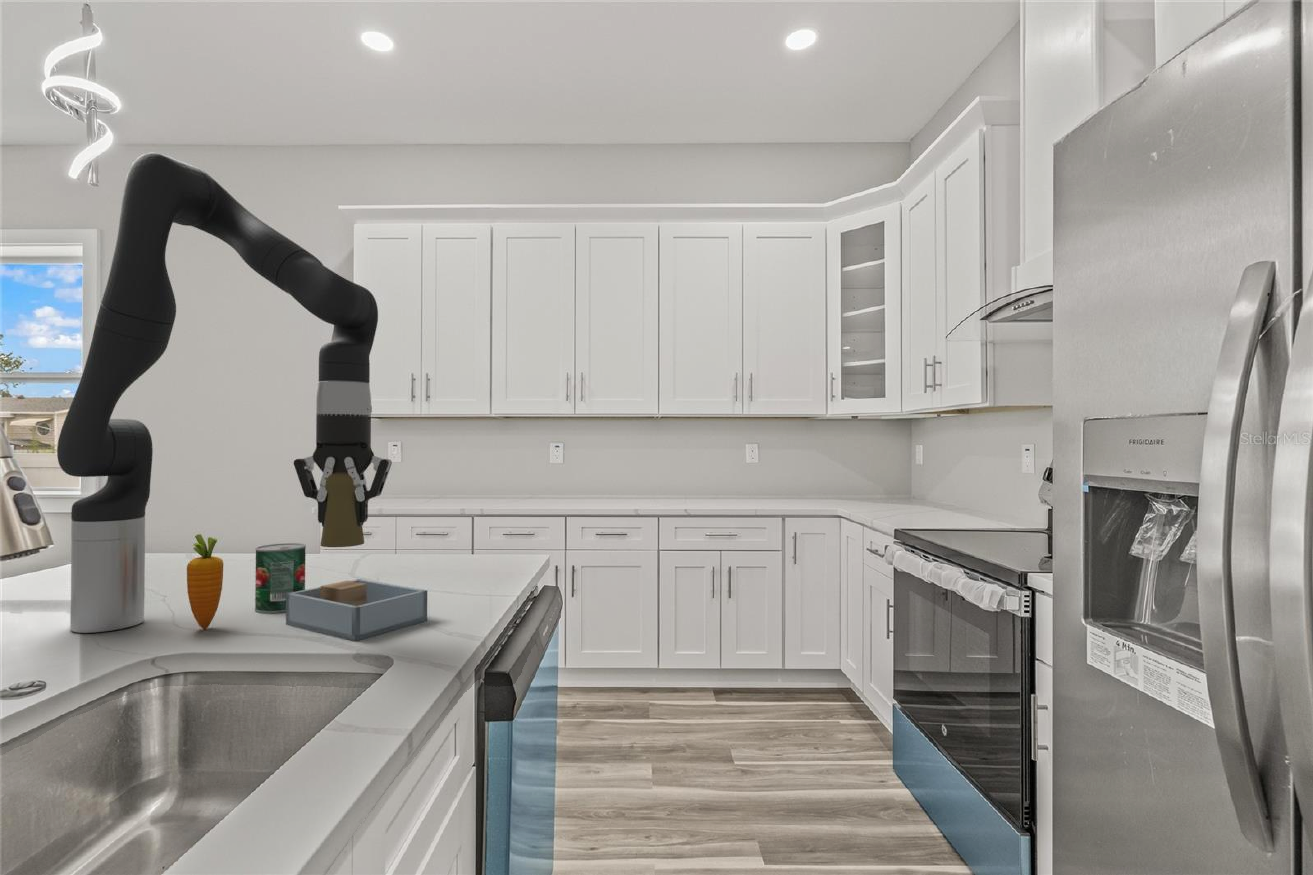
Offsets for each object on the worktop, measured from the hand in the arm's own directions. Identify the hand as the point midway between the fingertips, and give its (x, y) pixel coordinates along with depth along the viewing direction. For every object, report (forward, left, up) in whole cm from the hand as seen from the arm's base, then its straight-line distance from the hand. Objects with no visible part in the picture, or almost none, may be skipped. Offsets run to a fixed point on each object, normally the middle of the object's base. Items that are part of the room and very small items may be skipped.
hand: (343, 525), depth 102 cm
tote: (-6, +7, -17) cm, 20 cm away
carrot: (-23, -8, -17) cm, 30 cm away
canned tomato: (-26, +6, -18) cm, 32 cm away
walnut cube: (-10, +7, -16) cm, 21 cm away
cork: (0, 0, -3) cm, 3 cm away
